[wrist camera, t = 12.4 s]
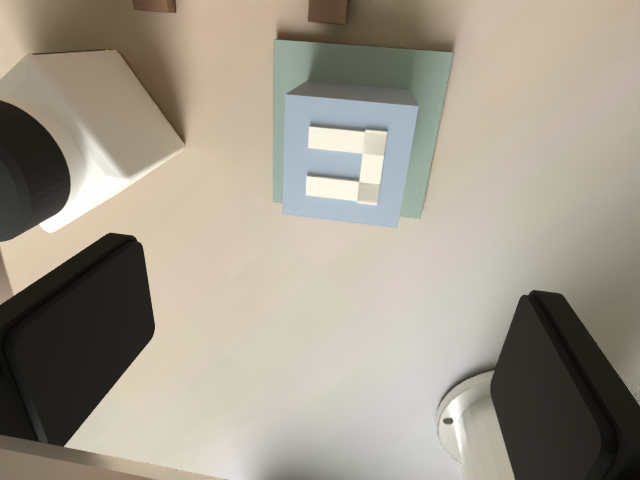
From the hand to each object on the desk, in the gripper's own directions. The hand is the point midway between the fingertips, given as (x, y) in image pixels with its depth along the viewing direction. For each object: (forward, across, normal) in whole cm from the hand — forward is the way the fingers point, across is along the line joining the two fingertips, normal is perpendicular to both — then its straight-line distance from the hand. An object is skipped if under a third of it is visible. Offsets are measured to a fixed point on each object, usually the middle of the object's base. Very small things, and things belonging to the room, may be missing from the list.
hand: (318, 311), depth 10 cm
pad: (+17, +1, -1) cm, 17 cm away
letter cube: (+17, +1, -1) cm, 17 cm away
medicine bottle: (+17, +17, 0) cm, 24 cm away
